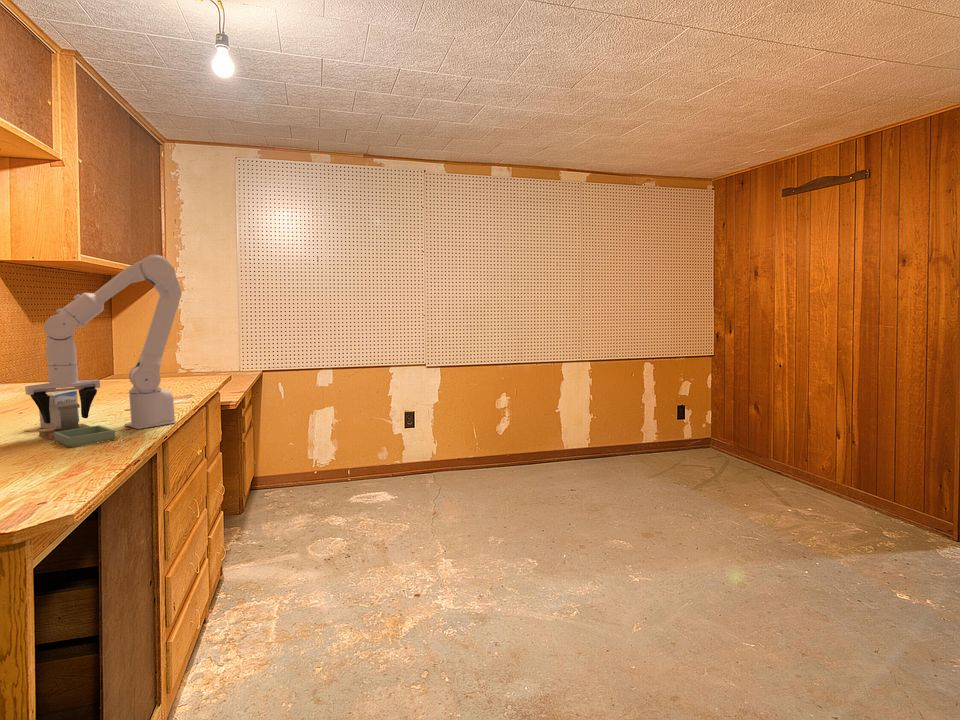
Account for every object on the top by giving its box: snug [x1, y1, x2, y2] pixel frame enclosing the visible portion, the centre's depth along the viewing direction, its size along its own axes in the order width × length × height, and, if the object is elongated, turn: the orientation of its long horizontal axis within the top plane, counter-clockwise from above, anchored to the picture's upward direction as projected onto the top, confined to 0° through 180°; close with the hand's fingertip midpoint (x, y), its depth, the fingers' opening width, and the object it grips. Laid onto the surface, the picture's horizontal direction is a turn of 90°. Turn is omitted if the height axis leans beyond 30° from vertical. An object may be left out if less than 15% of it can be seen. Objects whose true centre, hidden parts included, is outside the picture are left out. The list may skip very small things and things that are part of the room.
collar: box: [38, 423, 91, 441], centre depth 135 cm, size 9×9×1 cm
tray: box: [53, 424, 116, 448], centre depth 128 cm, size 9×9×2 cm
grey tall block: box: [52, 402, 81, 432], centre depth 134 cm, size 4×4×7 cm
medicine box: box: [38, 390, 80, 429], centre depth 144 cm, size 8×4×9 cm, turn 179°
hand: (66, 420), depth 134 cm, fingers open, 7 cm apart
